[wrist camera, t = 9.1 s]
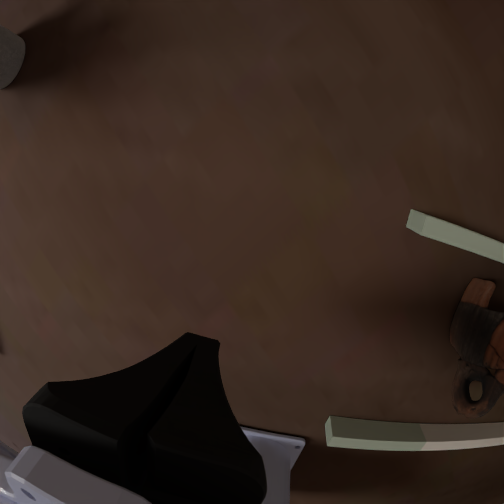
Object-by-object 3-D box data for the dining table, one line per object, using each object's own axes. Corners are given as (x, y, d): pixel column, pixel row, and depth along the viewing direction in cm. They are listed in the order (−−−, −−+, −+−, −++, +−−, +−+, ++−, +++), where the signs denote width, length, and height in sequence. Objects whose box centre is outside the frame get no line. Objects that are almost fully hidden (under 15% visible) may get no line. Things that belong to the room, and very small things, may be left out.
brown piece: (482, 235, 19) (575, 268, 12) (501, 283, 24) (568, 312, 17) (405, 383, 19) (491, 444, 12) (441, 394, 24) (504, 436, 17)
